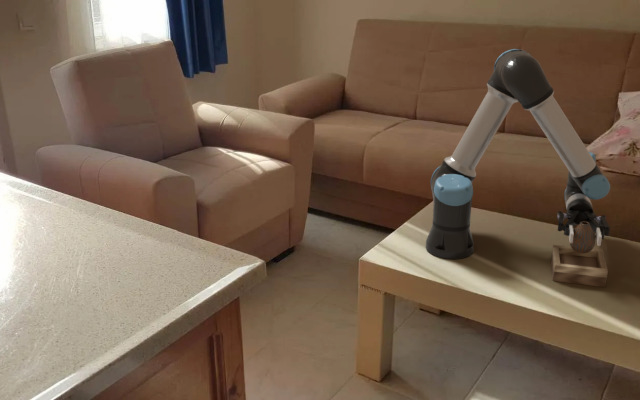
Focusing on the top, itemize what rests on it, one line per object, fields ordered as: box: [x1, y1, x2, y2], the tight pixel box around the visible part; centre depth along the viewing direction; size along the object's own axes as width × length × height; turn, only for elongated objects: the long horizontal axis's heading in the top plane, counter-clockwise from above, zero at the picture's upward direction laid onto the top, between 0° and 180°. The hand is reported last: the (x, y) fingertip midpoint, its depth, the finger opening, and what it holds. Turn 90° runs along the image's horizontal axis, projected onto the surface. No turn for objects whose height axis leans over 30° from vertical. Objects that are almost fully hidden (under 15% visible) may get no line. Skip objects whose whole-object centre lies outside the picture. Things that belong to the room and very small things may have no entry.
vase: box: [569, 221, 597, 253], centre depth 180 cm, size 7×7×9 cm
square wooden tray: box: [550, 244, 609, 288], centre depth 183 cm, size 14×14×5 cm
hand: (585, 239), depth 174 cm, fingers closed on vase, 7 cm apart
